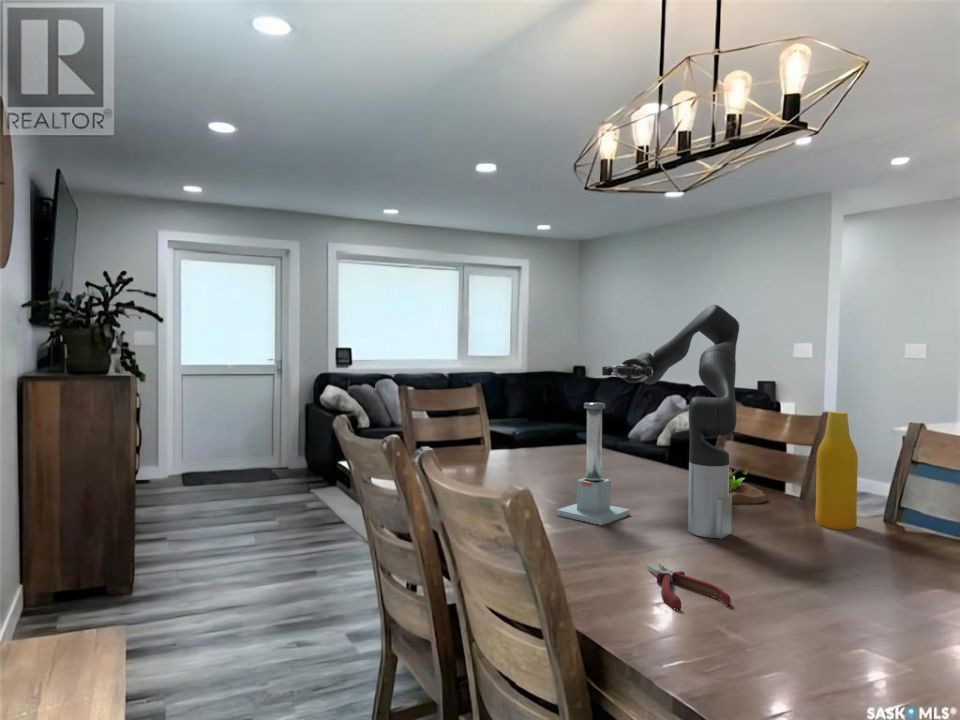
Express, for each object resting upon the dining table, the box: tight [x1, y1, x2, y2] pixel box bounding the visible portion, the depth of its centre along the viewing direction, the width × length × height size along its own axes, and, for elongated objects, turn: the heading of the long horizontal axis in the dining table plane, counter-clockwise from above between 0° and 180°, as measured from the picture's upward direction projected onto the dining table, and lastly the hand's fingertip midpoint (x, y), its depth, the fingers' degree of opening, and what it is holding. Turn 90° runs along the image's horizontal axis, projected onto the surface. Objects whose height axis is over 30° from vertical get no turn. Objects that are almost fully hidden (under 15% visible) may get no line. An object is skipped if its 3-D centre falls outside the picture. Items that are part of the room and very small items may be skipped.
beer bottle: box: [814, 411, 859, 531], centre depth 161 cm, size 9×9×29 cm
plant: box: [729, 468, 767, 505], centre depth 193 cm, size 20×20×11 cm
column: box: [583, 401, 606, 483], centre depth 169 cm, size 6×6×21 cm
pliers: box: [645, 563, 732, 610], centre depth 120 cm, size 12×20×3 cm, turn 10°
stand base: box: [556, 477, 631, 526], centre depth 170 cm, size 14×14×10 cm
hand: (621, 372), depth 182 cm, fingers open, 8 cm apart
